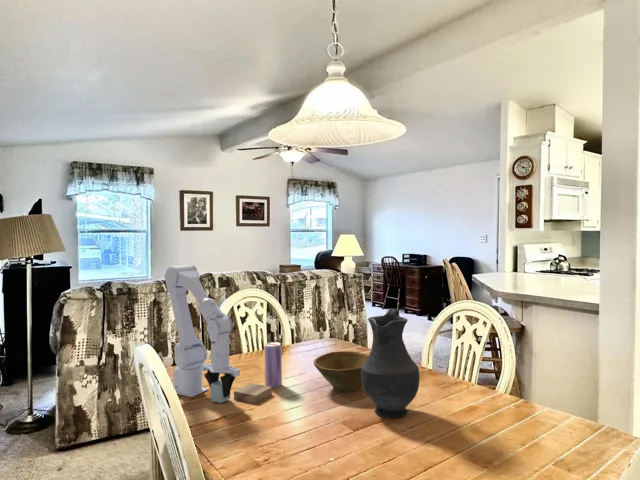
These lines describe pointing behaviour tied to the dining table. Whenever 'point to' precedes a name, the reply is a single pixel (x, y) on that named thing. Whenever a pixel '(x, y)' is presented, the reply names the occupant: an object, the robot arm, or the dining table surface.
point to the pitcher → (389, 367)
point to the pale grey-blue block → (218, 392)
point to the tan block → (252, 393)
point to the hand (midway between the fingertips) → (220, 395)
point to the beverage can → (273, 365)
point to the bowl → (342, 369)
